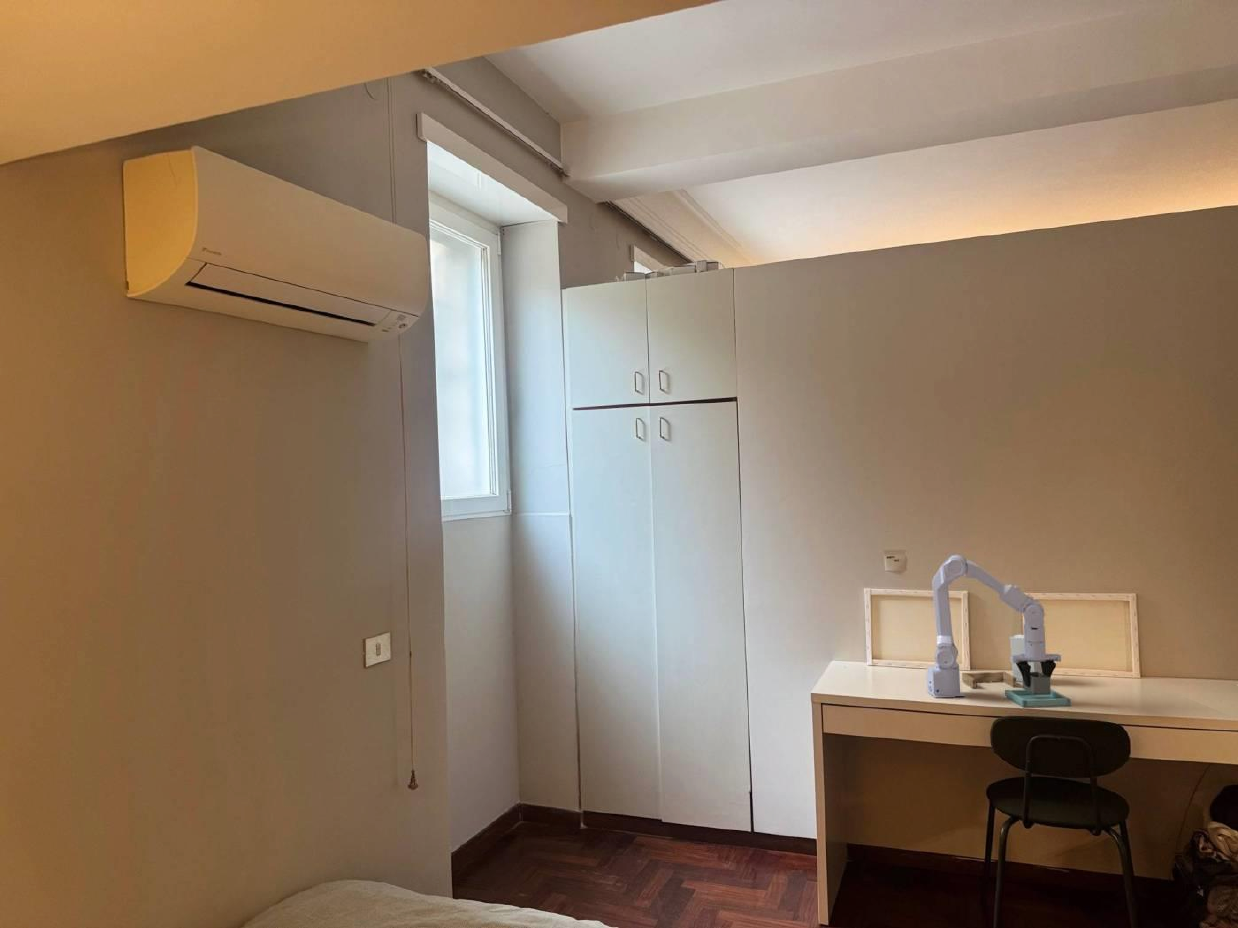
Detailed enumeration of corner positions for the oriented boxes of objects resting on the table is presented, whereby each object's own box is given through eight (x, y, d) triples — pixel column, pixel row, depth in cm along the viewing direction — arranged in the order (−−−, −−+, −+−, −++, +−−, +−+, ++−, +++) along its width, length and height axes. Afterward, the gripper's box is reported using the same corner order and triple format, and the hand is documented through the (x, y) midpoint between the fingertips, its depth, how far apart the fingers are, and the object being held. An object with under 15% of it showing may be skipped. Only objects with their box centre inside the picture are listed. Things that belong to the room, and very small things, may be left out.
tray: (1023, 707, 247) (1023, 700, 247) (1005, 696, 259) (1004, 689, 259) (1070, 705, 247) (1070, 699, 247) (1050, 694, 259) (1050, 688, 259)
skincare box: (1045, 681, 273) (1043, 636, 273) (1035, 685, 270) (1033, 639, 270) (1021, 677, 280) (1019, 633, 280) (1011, 680, 277) (1009, 635, 277)
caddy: (1033, 694, 249) (1033, 677, 249) (1022, 688, 256) (1022, 672, 256) (1050, 693, 249) (1050, 677, 249) (1039, 687, 256) (1038, 671, 256)
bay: (972, 688, 269) (972, 679, 269) (962, 681, 277) (962, 672, 277) (1016, 687, 268) (1016, 677, 268) (1004, 680, 277) (1004, 671, 277)
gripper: (1052, 637, 257) (1053, 681, 257) (1004, 639, 257) (1006, 683, 257) (1063, 642, 250) (1065, 687, 250) (1015, 643, 250) (1017, 689, 250)
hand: (1036, 685), depth 253 cm, fingers closed on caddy, 5 cm apart
